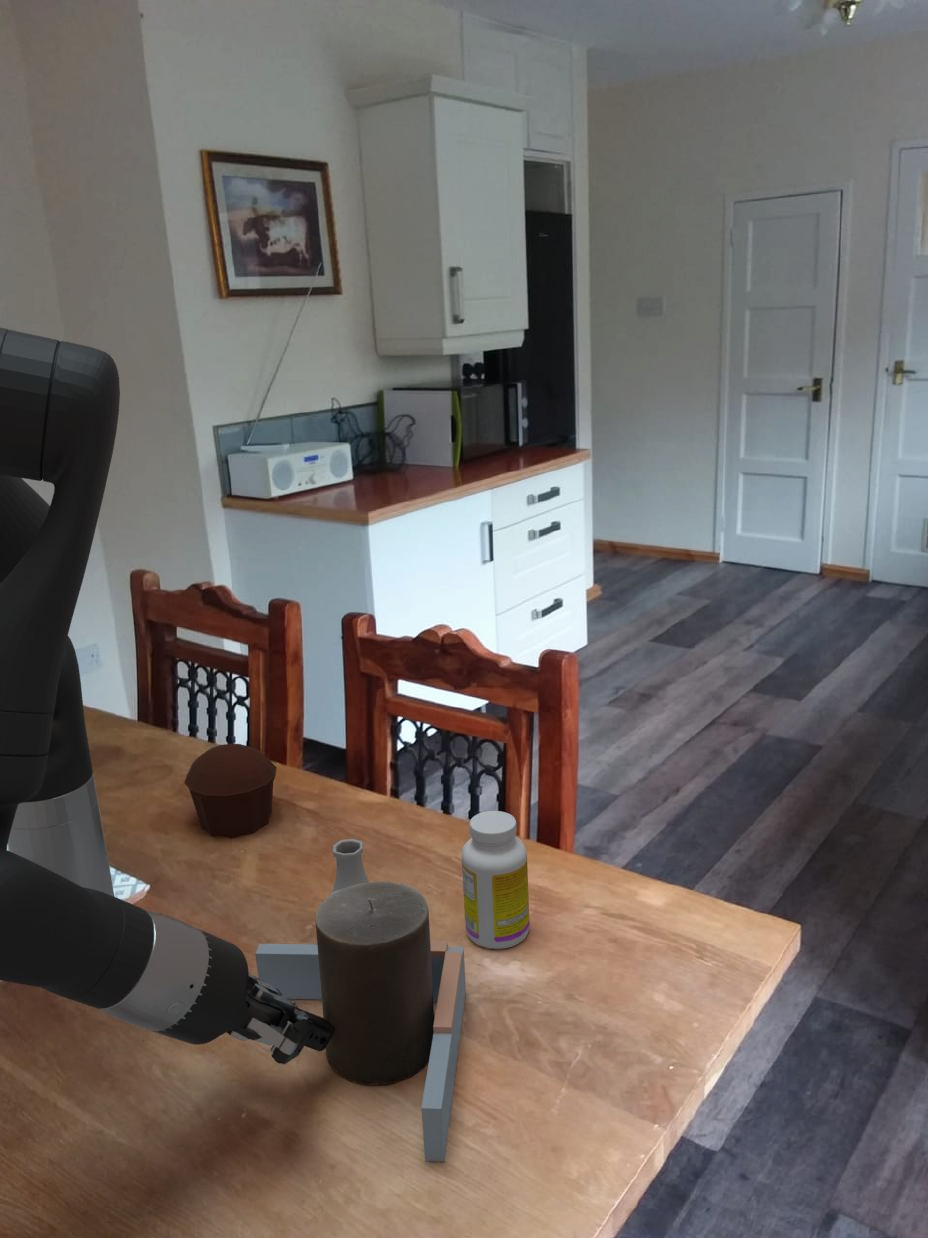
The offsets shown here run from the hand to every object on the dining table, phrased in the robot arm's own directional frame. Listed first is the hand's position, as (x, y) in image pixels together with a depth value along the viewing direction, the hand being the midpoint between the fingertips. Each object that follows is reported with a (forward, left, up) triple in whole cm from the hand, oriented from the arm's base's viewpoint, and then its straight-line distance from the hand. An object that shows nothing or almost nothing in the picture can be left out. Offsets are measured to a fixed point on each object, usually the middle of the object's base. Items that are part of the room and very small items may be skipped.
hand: (324, 1035), depth 83 cm
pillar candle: (+4, +4, -4) cm, 7 cm away
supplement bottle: (+13, +20, -4) cm, 25 cm away
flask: (-2, +20, -4) cm, 21 cm away
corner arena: (+1, +1, -4) cm, 4 cm away
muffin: (-22, +43, -4) cm, 49 cm away
